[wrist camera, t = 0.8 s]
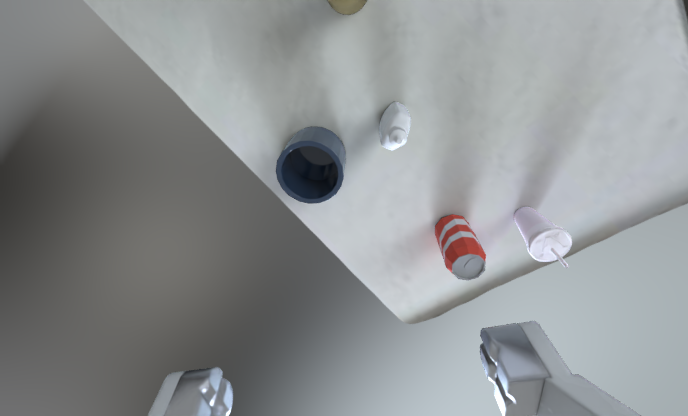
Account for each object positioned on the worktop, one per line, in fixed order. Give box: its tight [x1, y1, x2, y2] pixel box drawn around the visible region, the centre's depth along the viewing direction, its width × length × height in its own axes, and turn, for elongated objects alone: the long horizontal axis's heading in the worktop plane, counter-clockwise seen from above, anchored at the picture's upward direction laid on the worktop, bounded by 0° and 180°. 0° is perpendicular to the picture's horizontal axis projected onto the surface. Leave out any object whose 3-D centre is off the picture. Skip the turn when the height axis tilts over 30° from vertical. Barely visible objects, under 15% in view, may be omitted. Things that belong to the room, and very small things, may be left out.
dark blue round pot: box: [276, 127, 346, 203], centre depth 52 cm, size 10×10×8 cm
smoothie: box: [514, 207, 572, 268], centre depth 53 cm, size 6×6×14 cm
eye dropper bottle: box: [379, 102, 411, 150], centre depth 47 cm, size 4×6×12 cm
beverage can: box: [435, 214, 486, 280], centre depth 56 cm, size 6×6×12 cm
